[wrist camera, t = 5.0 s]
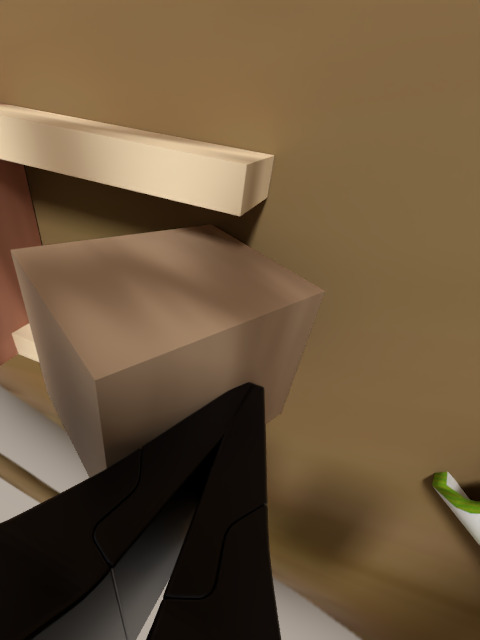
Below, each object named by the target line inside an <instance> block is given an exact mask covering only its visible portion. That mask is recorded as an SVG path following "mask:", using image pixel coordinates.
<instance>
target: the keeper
mask: <svg viewBox="0 0 480 640" xmlns="http://www.w3.org/2000/svg"><path fill="white" fill-rule="evenodd" d="M10 251H11V254H12V258H13V262H14V266H15V270H16V274H17V278H18V281H19V285H20V289H21V293H22V297H23V301H24V305H25V308H26V312H27V316H28V320H29V324H30V328H31V331H32V335H33V339H34V343H35V347H36V351H37V355H38V358H39V362H40V366H41V370H42V374H43V378H44V381H45V385H46V389H47V393H48V395H49V397H50V399H51V401H52V403H53V405H54V407H55V409H56V411H57V413H58V415H59V417H60V419H61V421H62V423H63V425H64V427H65V429H66V431H67V433H68V435H69V437H70V439H71V441H72V443H73V445H74V447H75V449H76V451H77V453H78V455H79V457H80V459H81V461H82V463H83V465H84V467H85V469H86V471H87V473H88V475H89V477H92V476H94V475H96V474H98V473H99V472H101V471H103V470H105V469H106V468H108V467H110V466H111V465H113V464H115V463H116V462H118V461H120V460H121V459H123V458H124V457H126V456H128V455H129V454H131V453H132V452H134V451H135V450H137V449H138V448H141V449H142V446H143V445H145V444H146V443H148V442H149V441H151V440H153V439H154V438H156V437H157V436H159V435H160V434H162V433H163V432H165V431H166V430H168V429H170V428H171V427H173V426H174V425H176V424H177V423H179V422H180V421H182V420H183V419H185V418H186V417H188V416H190V415H191V414H193V413H194V412H196V411H197V410H199V409H200V408H202V407H203V406H205V405H207V404H208V403H210V402H211V401H213V400H214V399H216V398H217V397H219V396H220V395H222V394H224V393H225V392H227V391H229V390H231V389H233V388H235V387H238V386H240V385H243V384H245V383H248V382H251V383H254V384H257V385H260V386H262V387H264V389H265V424H266V423H268V422H269V421H271V420H272V419H273V418H275V417H276V416H278V415H279V414H281V412H282V410H283V407H284V404H285V401H286V399H287V396H288V393H289V390H290V387H291V385H292V382H293V379H294V376H295V373H296V371H297V368H298V365H299V362H300V360H301V357H302V354H303V351H304V348H305V346H306V343H307V340H308V337H309V335H310V332H311V329H312V326H313V323H314V321H315V318H316V315H317V312H318V309H319V307H320V304H321V301H322V298H323V296H324V293H325V291H324V290H322V289H320V288H319V287H317V286H315V285H314V284H312V283H310V282H308V281H307V280H305V279H303V278H302V277H300V276H298V275H297V274H295V273H293V272H291V271H290V270H288V269H286V268H285V267H283V266H281V265H280V264H278V263H276V262H274V261H273V260H271V259H269V258H268V257H266V256H264V255H262V254H261V253H259V252H257V251H256V250H254V249H252V248H251V247H249V246H247V245H245V244H244V243H242V242H240V241H239V240H237V239H235V238H234V237H232V236H230V235H228V234H227V233H225V232H223V231H222V230H220V229H218V228H216V227H215V226H213V225H203V226H195V227H187V228H179V229H171V230H163V231H155V232H147V233H139V234H131V235H124V236H116V237H108V238H100V239H92V240H84V241H76V242H68V243H60V244H52V245H44V246H36V247H28V248H20V249H12V250H10Z"/></svg>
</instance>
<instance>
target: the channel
mask: <svg viewBox="0 0 480 640" xmlns="http://www.w3.org/2000/svg"><path fill="white" fill-rule="evenodd" d="M273 161H274V155H269V154H264V153H259V152H253V151H248V150H243V149H238V148H233V147H227V146H222V145H217V144H212V143H206V142H201V141H196V140H191V139H185V138H180V137H175V136H170V135H164V134H159V133H154V132H149V131H143V130H138V129H133V128H128V127H122V126H117V125H112V124H107V123H101V122H96V121H91V120H86V119H81V118H75V117H70V116H65V115H60V114H54V113H49V112H44V111H39V110H33V109H28V108H23V107H18V106H12V105H7V104H2V103H0V365H2V364H3V363H5V362H6V361H8V360H10V359H11V358H13V357H14V356H16V355H17V354H20V355H23V356H25V357H28V358H30V359H32V360H35V361H37V362H39V358H38V355H37V351H36V347H35V343H34V339H33V335H32V331H31V328H30V324H29V320H28V316H27V312H26V308H25V305H24V301H23V297H22V293H21V289H20V285H19V281H18V278H17V274H16V270H15V266H14V262H13V258H12V254H11V251H10V250H12V249H20V248H28V247H36V246H42V244H41V240H40V235H39V231H38V227H37V222H36V218H35V213H34V209H33V204H32V200H31V196H30V191H29V187H28V182H27V178H26V174H25V169H24V165H28V166H32V167H36V168H40V169H44V170H49V171H53V172H57V173H61V174H65V175H69V176H74V177H78V178H82V179H86V180H90V181H95V182H99V183H103V184H107V185H111V186H115V187H120V188H124V189H128V190H132V191H136V192H141V193H145V194H149V195H153V196H157V197H161V198H166V199H170V200H174V201H178V202H182V203H186V204H191V205H195V206H199V207H203V208H207V209H212V210H216V211H220V212H224V213H228V214H232V215H237V216H241V215H243V214H244V213H246V212H247V211H249V210H250V209H252V208H253V207H254V206H256V205H257V204H259V203H260V202H262V201H263V200H265V199H266V198H267V196H268V190H269V185H270V179H271V173H272V167H273ZM23 164H24V165H23Z"/></svg>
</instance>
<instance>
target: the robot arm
mask: <svg viewBox="0 0 480 640" xmlns="http://www.w3.org/2000/svg"><path fill="white" fill-rule="evenodd" d="M170 576H171V577H170ZM169 578H170V579H169ZM168 580H169V582H168ZM167 582H168V585H167V587H166V590H165V593H164V596H163V600H162V602H161V604H160V606H159V609H158V612H157V614H156V617H155V619H154V622H153V625H152V627H151V629H150V631H149V634H148V636H147V639H146V640H281V635H280V628H279V621H278V615H277V607H276V600H275V594H274V586H273V578H272V569H271V560H270V551H269V533H268V507H267V467H266V424H265V389H264V387H262V386H260V385H257V384H254V383H251V382H248V383H245V384H243V385H240V386H238V387H235V388H233V389H231V390H229V391H227V392H225V393H224V394H222V395H220V396H219V397H217V398H216V399H214V400H213V401H211V402H210V403H208V404H207V405H205V406H203V407H202V408H200V409H199V410H197V411H196V412H194V413H193V414H191V415H190V416H188V417H186V418H185V419H183V420H182V421H180V422H179V423H177V424H176V425H174V426H173V427H171V428H170V429H168V430H166V431H165V432H163V433H162V434H160V435H159V436H157V437H156V438H154V439H153V440H151V441H149V442H148V443H146V444H145V445H143V446H142V449H141V448H138V449H137V450H135V451H134V452H132V453H131V454H129V455H128V456H126V457H124V458H123V459H121V460H120V461H118V462H116V463H115V464H113V465H111V466H110V467H108V468H106V469H105V470H103V471H101V472H99V473H98V474H96V475H94V476H92V477H90V478H88V479H87V480H85V481H83V482H81V483H79V484H77V485H75V486H73V487H71V488H70V489H68V490H66V491H64V492H62V493H60V494H58V495H56V496H54V497H52V498H50V499H48V500H46V501H44V502H43V503H41V504H39V505H37V506H35V507H33V508H31V509H29V510H27V511H25V512H23V513H21V514H19V515H17V516H15V517H13V518H11V519H9V520H7V521H5V522H2V523H0V640H136V639H137V636H138V635H139V633H140V631H141V629H142V628H143V626H144V624H145V622H146V620H147V618H148V617H149V615H150V613H151V611H152V609H153V607H154V606H155V604H156V602H157V600H158V598H159V597H160V595H161V593H162V591H163V589H164V587H165V586H166V584H167Z"/></svg>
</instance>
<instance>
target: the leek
mask: <svg viewBox="0 0 480 640" xmlns="http://www.w3.org/2000/svg"><path fill="white" fill-rule="evenodd" d="M432 486H433V487H434V489H435V490H436V491H437V492H438V494H439V495H440V496H441V497H442V499H443V500H444V501H445V503H446V504H447V505H448V506H449V508H450V509H451V510H452V511H453V513H454V514H455V515H456V516H457V518H458V519H459V520H460V521H461V523H462V524H463V525H464V526H465V528H466V529H467V530H468V531H469V533H470V534H471V535H472V536H473V538H474V539H475V540H476V541H477V543H478V544H479V545H480V501H473V500H470V499H469V498H468V496H467V495H466V494H465V493H464V491H463V490H462V489H461V487H460V486H459V485H458V483H457V482H456V481H455V479H454V478H453V477H452V476H451V475H450V474H449V473H448V472H441V473H434V479H433V484H432Z"/></svg>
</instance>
